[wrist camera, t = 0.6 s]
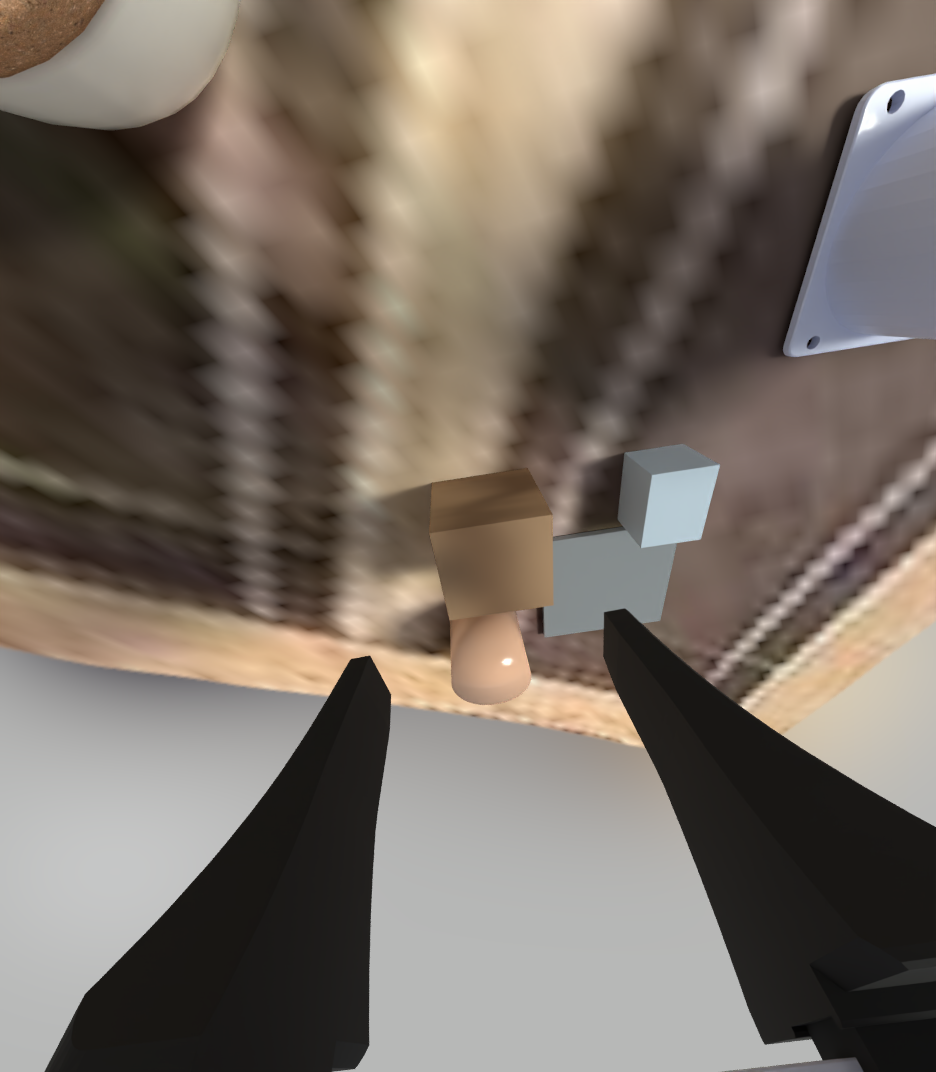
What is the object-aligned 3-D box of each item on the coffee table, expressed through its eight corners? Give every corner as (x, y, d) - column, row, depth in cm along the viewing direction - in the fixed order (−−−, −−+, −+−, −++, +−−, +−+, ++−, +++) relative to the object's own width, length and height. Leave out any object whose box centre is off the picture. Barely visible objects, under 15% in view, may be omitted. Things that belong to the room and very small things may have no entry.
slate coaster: (677, 518, 21) (681, 521, 20) (657, 616, 25) (660, 620, 25) (540, 539, 21) (541, 542, 20) (543, 632, 25) (544, 637, 25)
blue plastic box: (681, 442, 18) (720, 464, 16) (668, 510, 21) (700, 539, 18) (623, 452, 18) (652, 474, 16) (616, 518, 21) (640, 548, 18)
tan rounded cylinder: (512, 585, 23) (529, 649, 18) (517, 633, 25) (532, 698, 21) (444, 596, 23) (445, 661, 19) (455, 642, 25) (458, 709, 21)
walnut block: (527, 467, 19) (552, 514, 14) (531, 546, 21) (553, 605, 17) (431, 482, 19) (429, 533, 14) (447, 558, 21) (449, 620, 17)
